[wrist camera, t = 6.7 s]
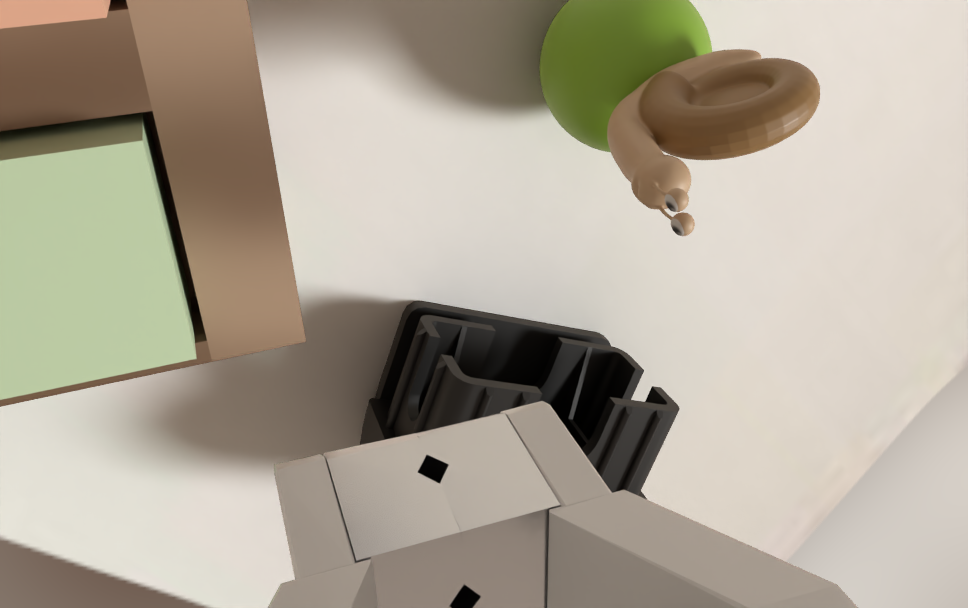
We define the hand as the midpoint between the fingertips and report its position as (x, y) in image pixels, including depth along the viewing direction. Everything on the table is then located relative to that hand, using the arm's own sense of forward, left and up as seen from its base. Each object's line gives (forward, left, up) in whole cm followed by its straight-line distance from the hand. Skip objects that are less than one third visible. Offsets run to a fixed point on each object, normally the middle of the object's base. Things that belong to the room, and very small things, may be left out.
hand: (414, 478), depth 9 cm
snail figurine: (+1, +11, -20) cm, 23 cm away
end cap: (+14, +7, -21) cm, 26 cm away
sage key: (+3, -6, -18) cm, 19 cm away
